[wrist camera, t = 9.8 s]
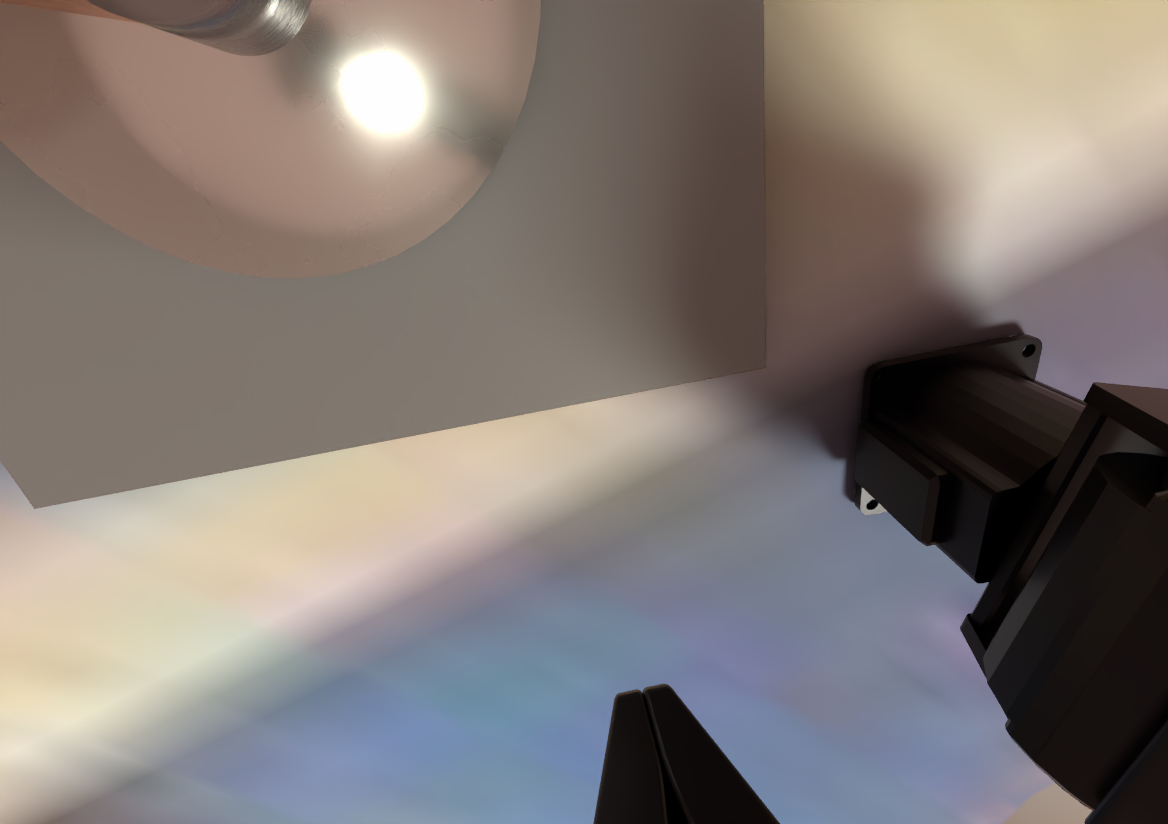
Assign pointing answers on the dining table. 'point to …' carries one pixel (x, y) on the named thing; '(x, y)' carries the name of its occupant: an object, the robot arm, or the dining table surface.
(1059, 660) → the robot arm
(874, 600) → the dining table surface
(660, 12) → the panel
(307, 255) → the dial
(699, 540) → the dining table surface
